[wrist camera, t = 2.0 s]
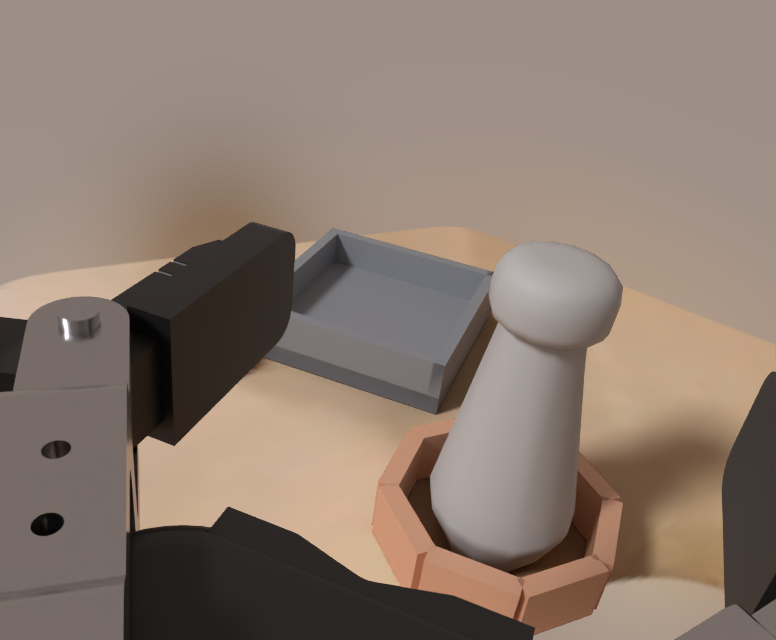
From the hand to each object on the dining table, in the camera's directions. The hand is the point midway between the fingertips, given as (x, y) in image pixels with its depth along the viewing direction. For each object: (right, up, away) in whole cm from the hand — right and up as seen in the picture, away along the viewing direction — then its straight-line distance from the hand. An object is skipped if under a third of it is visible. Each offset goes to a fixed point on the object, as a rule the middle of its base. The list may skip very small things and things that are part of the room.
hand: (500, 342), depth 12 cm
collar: (+2, -9, +19) cm, 21 cm away
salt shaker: (+2, -9, +19) cm, 21 cm away
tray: (-3, 0, +31) cm, 31 cm away
